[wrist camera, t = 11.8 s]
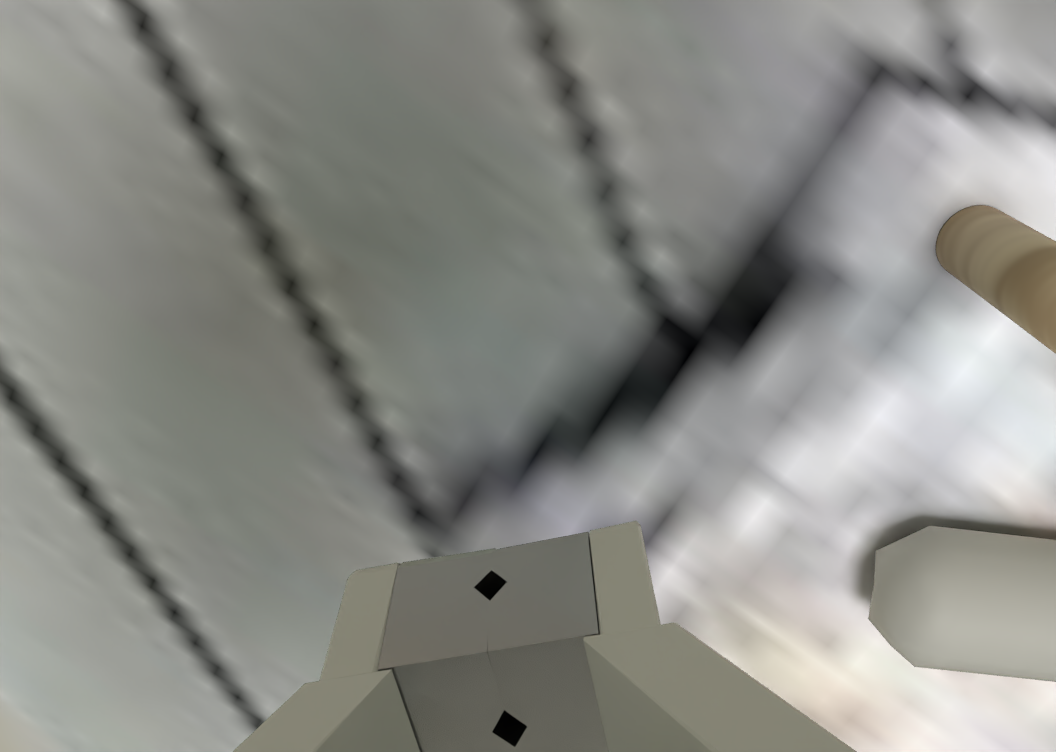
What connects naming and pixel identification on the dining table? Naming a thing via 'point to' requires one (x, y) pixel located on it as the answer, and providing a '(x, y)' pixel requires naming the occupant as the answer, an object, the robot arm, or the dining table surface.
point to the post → (1004, 266)
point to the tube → (969, 601)
